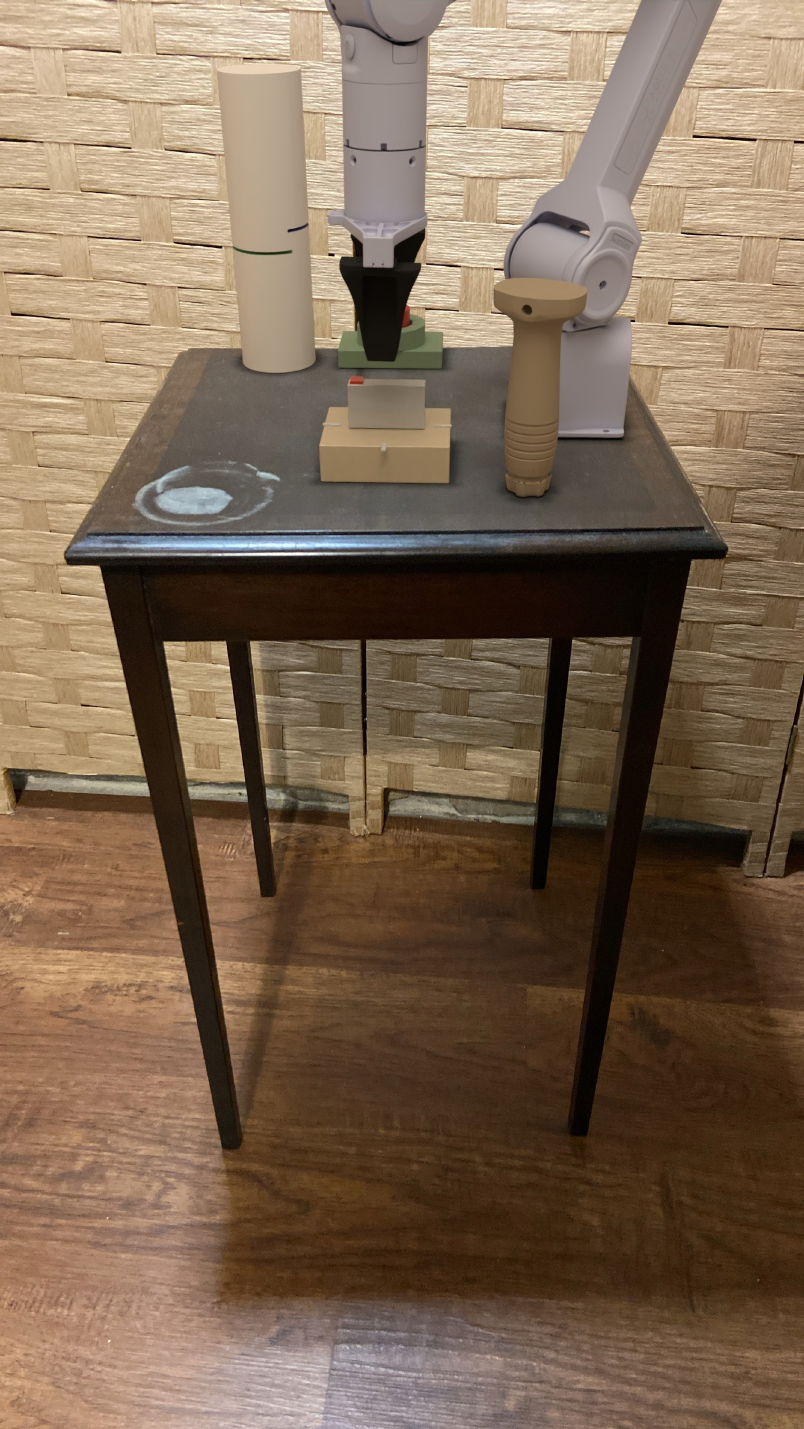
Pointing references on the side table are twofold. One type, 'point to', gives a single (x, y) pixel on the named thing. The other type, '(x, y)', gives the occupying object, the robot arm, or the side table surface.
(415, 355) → the button block
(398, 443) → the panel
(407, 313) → the button
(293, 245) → the cylindrical container
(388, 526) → the side table surface
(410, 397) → the grey rectangular plate
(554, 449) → the handle
